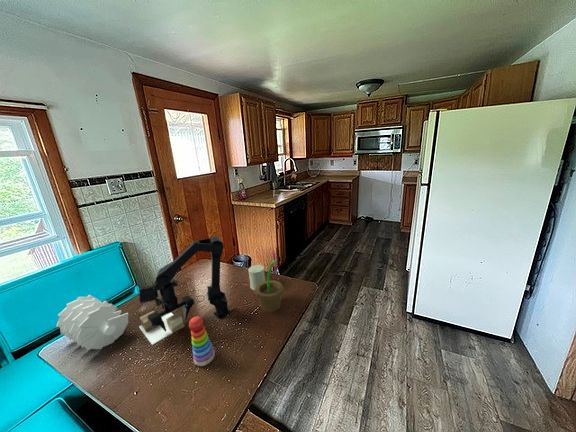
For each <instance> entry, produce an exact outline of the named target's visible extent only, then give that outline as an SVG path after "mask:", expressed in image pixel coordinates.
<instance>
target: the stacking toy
mask: <svg viewBox="0 0 576 432" xmlns="http://www.w3.org/2000/svg"><path fill="white" fill-rule="evenodd" d="M188 328H189V329H190V334H191V345H192V347H191V348H192V357H193V358H192V360H193V363H194V365H195V366H198V367H204V366H206V365H208V364H210V363H211V362H212V361H213V360H214V358H215V355H216V351H215V349H214V346H213V344H212V342H211V339H210V337H209V335H208V333H207V330H206V326H204V319H203V318H202V317H201V316H200V315H199V316H198V315H197V316H194V317H192V318H191V319H190V320H189V322H188Z"/></svg>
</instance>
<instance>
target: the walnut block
mask: <svg viewBox="0 0 576 432" xmlns="http://www.w3.org/2000/svg"><path fill="white" fill-rule="evenodd" d="M154 312H155V311H154V310H152V311H150V312H148V313H146V314H143V315H142V316H140V317H139V320H140V324H141V325H142V327H143V328H144V330H145V331H146V332H148V331H150V330H151V329H153V328H155V327H157V326H156V325H155V326H152V325H151V324H150V323H149V321H148V319H147V317H148V315H150V314H152V313H154ZM158 326H159V325H158Z"/></svg>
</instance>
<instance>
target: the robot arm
mask: <svg viewBox="0 0 576 432" xmlns="http://www.w3.org/2000/svg"><path fill="white" fill-rule="evenodd" d="M224 248H225V247H224V243H223V240H222V238H220V237H219V236H213V237H211V238H208V237H207V238H204V239H196V240H193V241H192V242H191V244H189V245H188V246H187V247H186V248H185V249H184V250H183V251H182V252H181V253H180V254H179V255H178V256H177V257H176V258H175V259H174V260H173V261H171V262H170V263H168V264H166V265H164V266H163V267H161V268H160V269H159V270H158V271H157V274H156V277H155V280H154V283H153V284H151V285H146V286H141V287H139V290H138V291H139V302H140V304H141V305H142V304H147V303H150V302H154V306H155V307H157V308H158V307H161V308H162V310H163V311H161V312H158V311H157V310H156V311H154V313H152V314H150V315H148V317H147V319H148V321H149V323H150V324H151V325H152V326H155V325H156V326H158V325H159V326H161V327H162V328H163V330H164V331H165V332H166V328H165V325H164V322H163V321H162V317H163V316H165V315H167V314H169V313H172V312H174V311H176V310H177V309H179V308H182V313H183V319H184V320H188V319H187V318H188V316H189V313H190V310H191V308H192V307H193V305H195V303H196V302H195V299H194V298H193V297H192V296H191V295H188V294H187V295H186V296H184V297H181V299H180V302H179V301H178V299H179V298H178V296H177V294H176V289H175V287H177V286H178V285H179V281H178V280H177V279H174V278H175V276H176V274H177V273H178V272H179V270H180V269H181V268H182V267H183V266H184V265H185V264H186V263H187V262H188V261H189V260H190V259H191V258H192V257H194V255H196V254H197V252H205V253H210V255H211V268H210V269H211V270H210V271H211V275H210V278H211V280H210V285H209V286H207V287H206V289H207V292H206V296H207V301H209V304H210V305H212V306H214V309H215V312H213V315H214V317H216V318H217V319H219V320H222V319H223V318H225V317H227V316H229V315H230V314H231V313H232V310H230V309H229V307H228V298H227V296H226V292H224V291H222V290H221V286H220V285H221V283H220V281H221V259H222V255H223V252H224ZM159 297H161V298H159Z"/></svg>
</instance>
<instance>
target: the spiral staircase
mask: <svg viewBox="0 0 576 432" xmlns="http://www.w3.org/2000/svg"><path fill="white" fill-rule="evenodd" d="M57 316H58V317H59V318H58V321H57V324H56V326H55V327H56V328H59V330H60V335H61V336H63V335H64V336H65V337H67V338H68V340H69V341H71V340H72V342H73V343H77V345H78V346H81V349H82V348H85V349H86V350H87V351H90V350H102V349H103V347H106V346H109V345H110V344H113V343H115V341H116V340H117V339H118V338H120V336H122V335H123V334H124V333H125V332H124V331H126V328H127V326H128V325H129V322H130V321H129V312H126V313H123V314H122V310H118V307H116V306H115V305H114V304H112V303H109V302H107V300H104V301H103V302H102V301H101V300H100V299H98V298H96V297H94V296H93V295H91V294H88V295H87V296H78V297H77V298H76V299H75V300H73V301H70V302H69V303H66V307H65V308H64V309H63V310H62V311H61V312H59V313H58V314H57Z"/></svg>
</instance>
